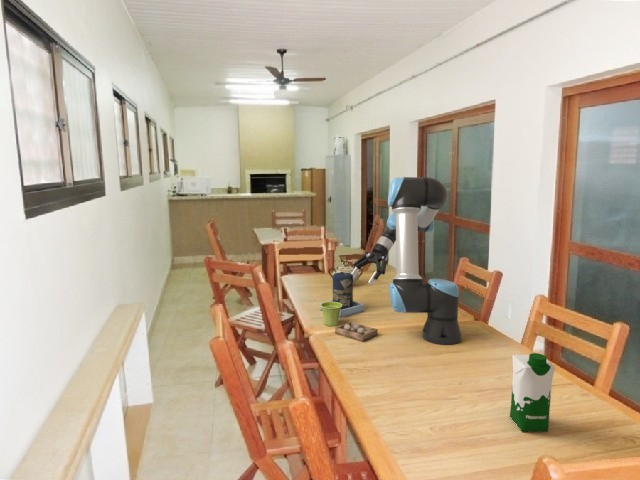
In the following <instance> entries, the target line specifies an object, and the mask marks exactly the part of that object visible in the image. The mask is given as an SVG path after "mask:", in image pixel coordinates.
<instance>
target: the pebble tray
mask: <svg viewBox="0 0 640 480" xmlns="http://www.w3.org/2000/svg"><path fill="white" fill-rule="evenodd" d="M378 333H379V332H378V329H377V328H375V327H371V326H367V325H363V324H360V323H356V322H353V321H348V322H346V323H343V324H341V325H338V326H336V327H335V331H334V334H336V335H339V336H340V337H341V336H343V337H345V338H349V339H352V340H355V341H357V342H362V343H364V342H366V341H368V340H370V339H372V338H375V337H377V336H378Z"/></svg>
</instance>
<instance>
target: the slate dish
mask: <svg viewBox="0 0 640 480" xmlns="http://www.w3.org/2000/svg"><path fill="white" fill-rule="evenodd" d="M324 302H325V301H323V302H320V311H321V312H323V311H322V307H321V304H322V303H324ZM326 302H333V299H332V300H328V301H326ZM364 312H365V304H364V303H361V302H358V301H355V300H353V307H350V308H346V309H342V310H340V314H339V319H343V318H346V317H350V316H353V315H357V314H361V313H364ZM342 317H343V318H342Z"/></svg>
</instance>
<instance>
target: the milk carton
mask: <svg viewBox="0 0 640 480" xmlns="http://www.w3.org/2000/svg"><path fill="white" fill-rule="evenodd" d="M555 370H556V366H555V365H554V364H553V363H552V362H550V361H549V360H548V358H547V356H546V355H544V354H542V353H536V352H533V353H530V354H512V383H511V385H512V386H511V396H510V397H511V400H510V409H509V410H510V411H509V418H510V417H511V418H512V419H511V418H510V419H511V420H513V421H514V422H515V423H516V424H517V426H518V427H519V428H520V429H521V430H520V429H519V428H518V427H517V426H516V427H517V428H518V429H519V430H520V432H521V431H545V432H549V423H550V409H551V397H552V384H553V377H554V373H555ZM513 421H512V422H513ZM514 422H513V423H514ZM515 423H514V424H515ZM516 424H515V425H516Z"/></svg>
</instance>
